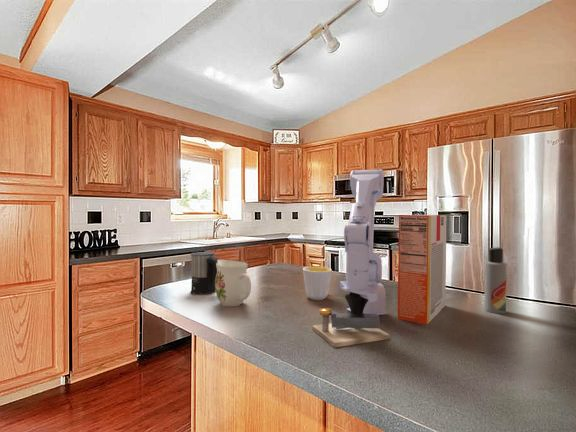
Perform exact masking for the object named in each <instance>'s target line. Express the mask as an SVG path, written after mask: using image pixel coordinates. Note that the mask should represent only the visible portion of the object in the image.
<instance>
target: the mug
mask: <svg viewBox="0 0 576 432" xmlns="http://www.w3.org/2000/svg"><path fill="white" fill-rule="evenodd" d="M332 271H333V270H332V268H330V267H327V266H305V267H302V272H303V273H302V275H303V280H304V288H305V294H306V296H307V297H308V299H310V300H314V301H316V300H317V301H322V300H324V299H326V298H327V296H328V295H329V289H330V285H331V284H330V283H331V278H332Z"/></svg>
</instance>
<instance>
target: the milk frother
mask: <svg viewBox="0 0 576 432" xmlns="http://www.w3.org/2000/svg"><path fill="white" fill-rule="evenodd" d="M190 255H191V257H190V258H191V260H190V261H191V265H190V268H191V289H190V290H191V291H190V293H191V294H193V293H195V295H207V294H208V293H209V294H212V293H216V290H215V278H216V274H217V267H216V263H217V260H220V259H219V258H218V257H215V255H216V252H214V251H197V252H191V253H190Z"/></svg>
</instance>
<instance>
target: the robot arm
mask: <svg viewBox="0 0 576 432" xmlns="http://www.w3.org/2000/svg"><path fill="white" fill-rule="evenodd" d="M384 174H385V173H384V170H383V169H382V168H379V169H362V170H361V169H359V170H358V169H357V170H355V169H352V170H351V171H350V176H349V185H350V188H351V194H352V197H353V198H354V199H355V203H353V204H352V205H351V207H350V212H349V218H348V223H347V224H346V225H345V226H344V229H343V238H344V252H346V253H345V254H346V256H345V257H346V258H345V259H346V260H345V261H346V262H345V263H346V264H345V278H346V279H345V280H340V281H339V289H342V291H343V292H349V294H345V295H344V298H345V300H346V301H347V305H348V308H346V311H349V313H364V314H377V315H378V316H381V315H387V314H388V312H387V311H386V305H387V304H386V299H387V297H386V295H387V294H386V289H385V287H384V284H382V281H383V280H382V279H383V265H382V263H383V261H382V258H381V257H380V255H378V254H377V253H376V252H375V251H374V230H375V207H376V203H377V201H378V200H379V199H382V198H383V194H384V186H385V185H384V182H385V181H384V176H385V175H384Z"/></svg>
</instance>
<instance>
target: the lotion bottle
mask: <svg viewBox="0 0 576 432" xmlns="http://www.w3.org/2000/svg"><path fill="white" fill-rule="evenodd" d="M507 271H508V270H507V263H505V262H504V249H503V248H502V247H499V246H498V247H489V248H488V261H486V262H484V299H483V300H484V301H483V302H484V305H483V307H484V310H485V311H486V312H489V313H492V312H493V313H492V314H505V313H506V311H507Z"/></svg>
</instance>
